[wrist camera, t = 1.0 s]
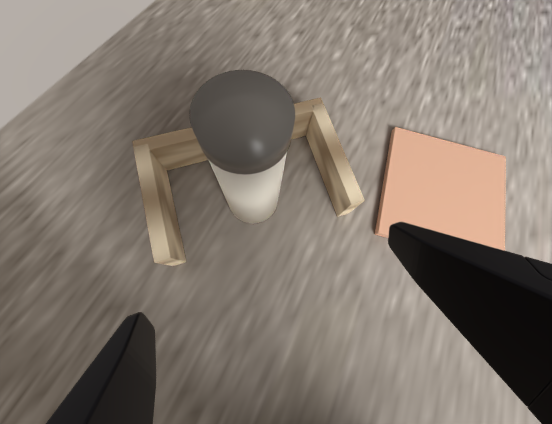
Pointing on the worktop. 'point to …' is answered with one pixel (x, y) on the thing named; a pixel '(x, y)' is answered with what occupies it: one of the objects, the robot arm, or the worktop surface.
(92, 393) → the robot arm
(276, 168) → the cream spice jar
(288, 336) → the worktop surface
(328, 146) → the birch stall
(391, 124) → the worktop surface
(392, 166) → the terracotta tile
